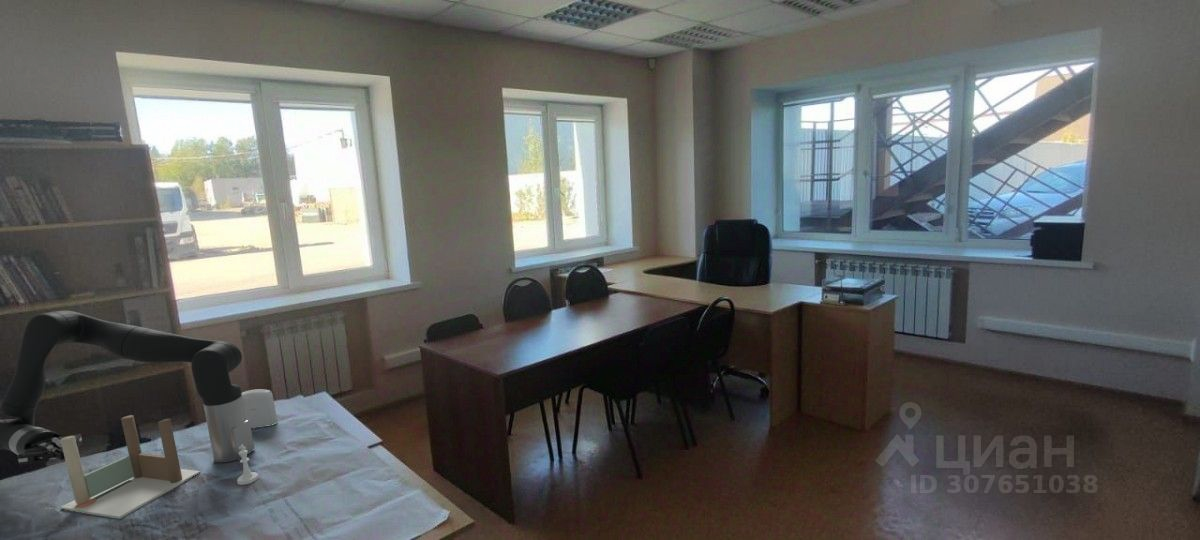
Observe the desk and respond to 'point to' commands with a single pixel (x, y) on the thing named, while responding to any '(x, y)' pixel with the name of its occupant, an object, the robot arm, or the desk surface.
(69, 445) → the l-shaped bracket
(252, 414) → the photo printer
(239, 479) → the chess piece
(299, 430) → the desk surface
